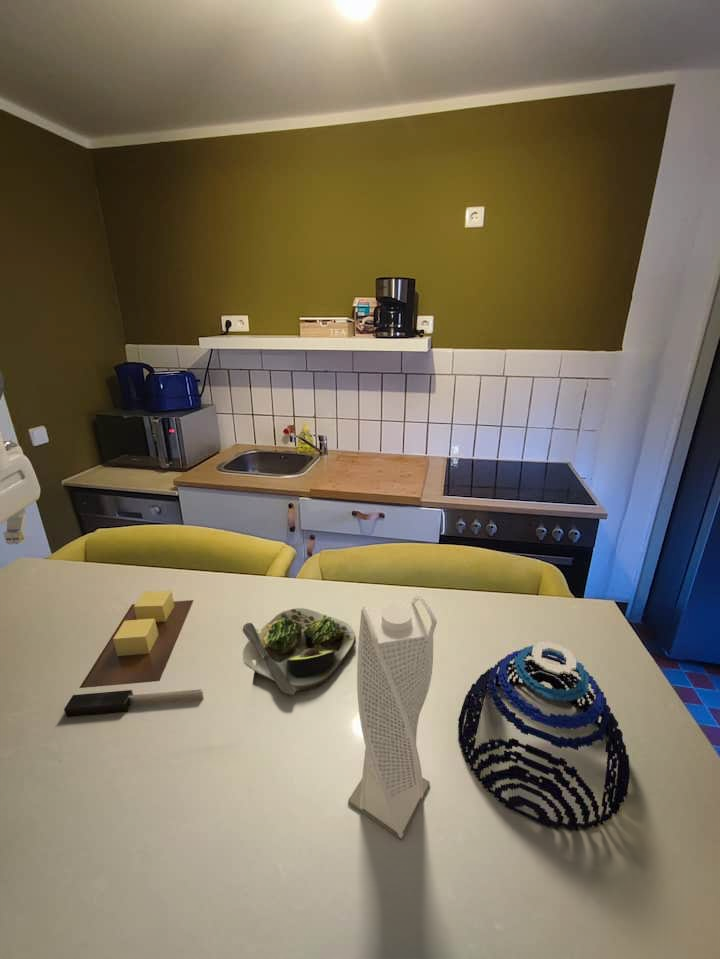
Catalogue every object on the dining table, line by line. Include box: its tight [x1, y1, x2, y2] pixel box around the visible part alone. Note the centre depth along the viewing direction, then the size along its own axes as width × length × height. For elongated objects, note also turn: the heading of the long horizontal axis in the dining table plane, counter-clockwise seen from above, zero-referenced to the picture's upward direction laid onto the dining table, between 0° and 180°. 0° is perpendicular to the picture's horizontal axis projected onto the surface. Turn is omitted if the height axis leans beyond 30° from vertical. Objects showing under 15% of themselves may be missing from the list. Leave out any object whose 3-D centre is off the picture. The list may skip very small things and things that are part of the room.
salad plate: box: [242, 607, 357, 696], centre depth 71 cm, size 19×18×5 cm
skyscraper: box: [347, 594, 438, 841], centre depth 44 cm, size 8×8×28 cm
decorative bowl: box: [457, 640, 631, 832], centre depth 53 cm, size 20×20×14 cm
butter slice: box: [134, 590, 175, 622], centre depth 78 cm, size 5×4×4 cm
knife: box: [63, 688, 205, 718], centre depth 60 cm, size 18×2×3 cm, turn 96°
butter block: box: [113, 618, 158, 656], centre depth 71 cm, size 5×4×4 cm
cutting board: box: [79, 599, 194, 689], centre depth 73 cm, size 16×20×2 cm
